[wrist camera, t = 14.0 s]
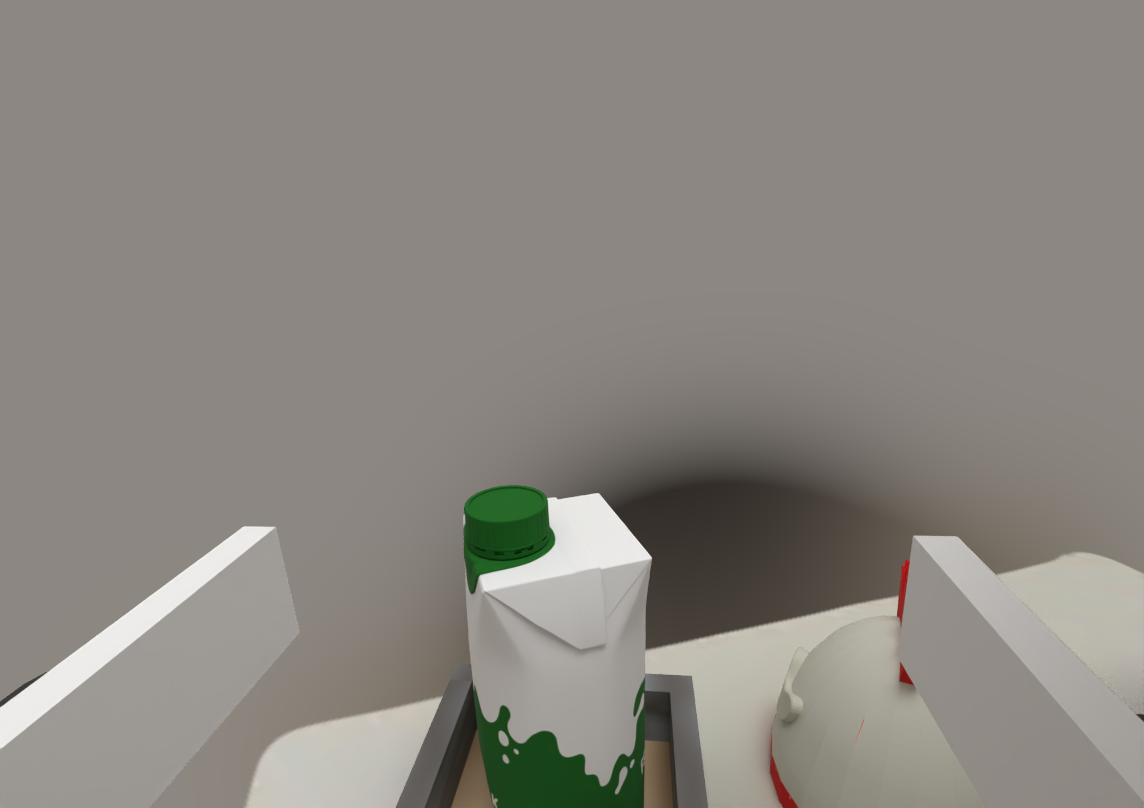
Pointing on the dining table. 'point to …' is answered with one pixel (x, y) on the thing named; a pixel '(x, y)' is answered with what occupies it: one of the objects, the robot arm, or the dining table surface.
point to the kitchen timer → (861, 728)
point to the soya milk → (556, 648)
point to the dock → (456, 769)
